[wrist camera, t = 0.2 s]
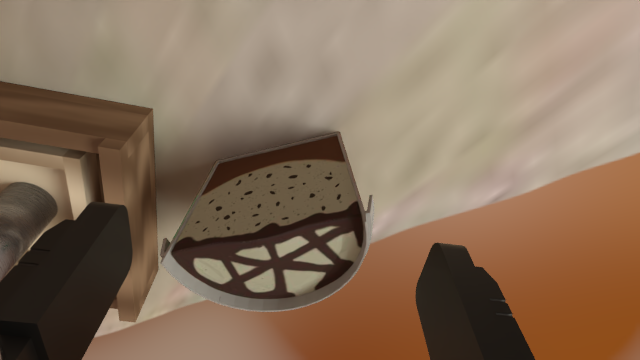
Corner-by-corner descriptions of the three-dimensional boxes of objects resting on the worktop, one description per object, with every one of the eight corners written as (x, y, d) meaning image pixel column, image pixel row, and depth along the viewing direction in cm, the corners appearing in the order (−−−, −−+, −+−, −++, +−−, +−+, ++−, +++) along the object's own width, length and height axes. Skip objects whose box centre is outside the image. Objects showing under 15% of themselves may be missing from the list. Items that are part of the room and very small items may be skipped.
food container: (229, 225, 33) (199, 331, 25) (197, 165, 30) (151, 264, 22) (376, 194, 32) (396, 298, 23) (360, 126, 28) (377, 219, 20)
